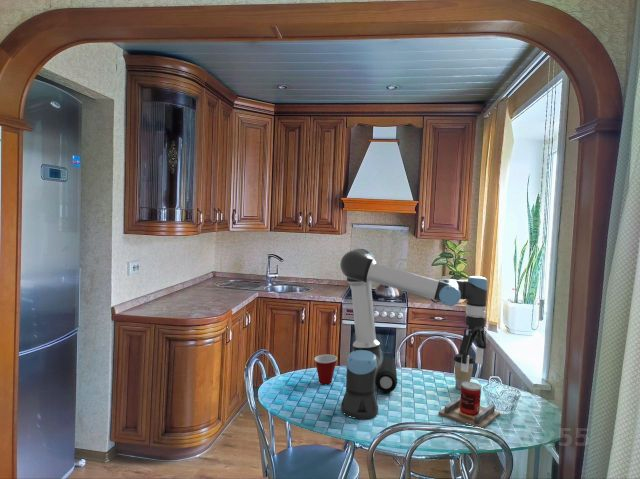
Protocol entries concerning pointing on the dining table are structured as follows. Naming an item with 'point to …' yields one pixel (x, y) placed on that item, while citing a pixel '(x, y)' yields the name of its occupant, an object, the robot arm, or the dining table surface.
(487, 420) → the dock board
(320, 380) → the plastic cup
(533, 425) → the dining table surface
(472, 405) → the canned food
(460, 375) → the coffee cup
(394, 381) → the portable speaker
